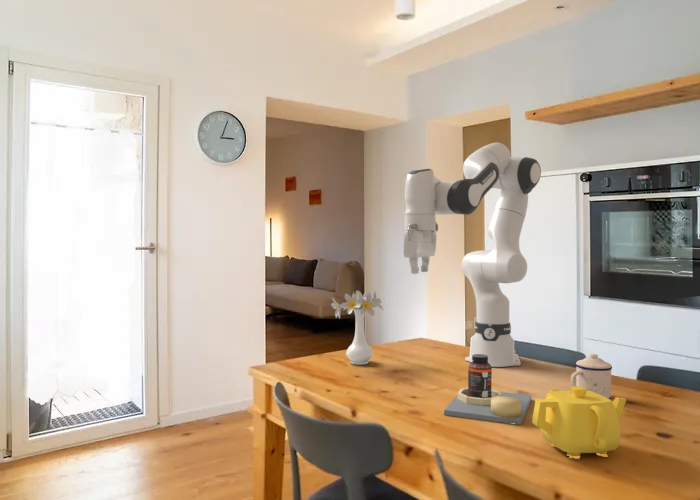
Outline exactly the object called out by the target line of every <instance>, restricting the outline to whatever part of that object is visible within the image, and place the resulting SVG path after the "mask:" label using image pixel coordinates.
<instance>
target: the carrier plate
mask: <svg viewBox="0 0 700 500" xmlns="http://www.w3.org/2000/svg"><path fill="white" fill-rule="evenodd" d="M491 392H492V393H491V394H492V395H491V398H475V397H468V387H463V388H460V389H459V390H458V391H457V393H456V395H455V397H454V398H453V399H452V401H450V402H449V404H448V405H447V406H446V407H445V408H444V410H443V415H444V416H450V417H458V418H465V419H471V420H472V419H473V420H479V421H486V422H493V421H494V422H495V423H500V422H503V423H502V424H508V423H515V424H520V425H519V426H522V424H523V422H522V421H524V419H525V417H526V414H527V412H528V410H527V409H529V407H530V405H531V402H530V401H532V395H531V394H524V393H523V394H522V393H516V392H515V393H513V392H508V391H507V392H505V391H497V390H495V389H492V388H491ZM529 404H530V405H529ZM528 406H529V407H528ZM526 411H527V412H526ZM524 416H525V417H524ZM515 424H514V425H515Z"/></svg>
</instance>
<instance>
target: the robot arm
mask: <svg viewBox="0 0 700 500" xmlns="http://www.w3.org/2000/svg"><path fill="white" fill-rule="evenodd" d="M541 169H542V167H541V165H540V163H539V162H538V160H537V159H535V158H532V157H528V156H527V157H526V156H525V157H520V156H512V154H511V151H510V149H509V148H508V146H506V144H503V143H502V142H498V141H497V142H492V143H489V144H486V145H484V146H482V147H480V148H478V149H477V150H475V151H474V152H472V153H471V154H470V155H469V156H467V158H466V159H465V160H464V161H463V164H462V173H463V175H464V176H463V177H464V178H465V179H464V178H463V179H459V180H451V181H450V180H449V181H442V180H440V179H438V178H437V177H436V176H435V172H434V170H433V169H432V168H423V169H416V170H412V171H409V172H408V173H407V174H406V179H405V185H404V202H405V212H404V231H405V232H404V235H403V245H402V247H403V249H402V252H403V256H404V258H409V260H408V262H409V266H410V273H411V274H412V275H413V274H414V275H417V274H418V273H420V272H419V264H418V262H419V258H421V266H420V271H421V273H427V272H429V266H430V258H431V257H434V256H435V255H436V248H437V232H438V231H439V224H438V222H437V221H436V220H437V219H436V216H437V215H466V216H467V215H471V214H473V213H474V212H475V211H476V210H477V209H478V207H479V205H480V203H481V201H482V200H483V198H484V197H485V196H486V195H487V193H488V192H489V191H490V190H491V189H497V190H498V189H499V190H500V194H499V196H498V198H497V200H496V203H495V205H494V207H493V211H492V214H491V217H490V219H489V220H490V221H489V223H488V227H487V234H488V236H489V237H490V239H492V241H493V245H492V249H490V250H480V249H479V250H476V251H470V252H468V253H466V254H465V255H464V256H463V258H462V260H461V271H462V273H463V275H464V276H465V277H466V278H467V279H468V281H469V282H470V284H471V286H472V290H473V294H474V297H475V305H476V307H475V308H476V309H475V310H476V311H475V313H476V320H475V325H474V332H475V333H474V335H472V336H471V337H470V349H469V355H468V356H465V357H464V358H465V359H464V360H465V362H466V361H467V362H470V363H471V362H472V361H473V360H472V355H474V354H484V355H487V356H488V363H489V364H490V365H491V367H492V368H506V367H513V366H514V367H516V366H521V364H522V363H521V360H520V357H519V354H517V350H515V340H514V338H513V337H512V336H511V333H512V330H511V329H512V326H511V322H510V300H509V298H508V297H507V296H506V295H505V294H504V293H503V291H502V290H501V287H500V284H513V283H518V282H521V281H522V280H523V279H524V278H525V277H526V275H527V271H528V263H527V260H526V258H525V257H524V255H523V254H522V252H521V248H520V237H521V233H522V230H523V225H524V222H525V218H526V215H527V211H528V210H527V209H528V206H529V205H528V203H529V194H530V193H531V192H532V190H533V189H534V188H535V187H536V186H537V184H538V183H539V182H540V179H541V176H542V170H541Z"/></svg>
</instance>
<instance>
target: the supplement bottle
mask: <svg viewBox="0 0 700 500" xmlns="http://www.w3.org/2000/svg"><path fill="white" fill-rule="evenodd" d="M472 360H473V361H472V362H470V363H469V364H468V365H467V367H468V368H467V370H468V371H467V372H468V373H467V382H468V383H467V388H468V397H475V398H491V395H492V394H491V393H492V392H491V389H492V376H493V375H492V368H493V367H491V365H490V364H489V363H488V356H487V355H484V354H474V355H472Z"/></svg>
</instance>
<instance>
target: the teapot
mask: <svg viewBox="0 0 700 500" xmlns="http://www.w3.org/2000/svg"><path fill="white" fill-rule="evenodd" d="M626 402H627V399H626V398H623V397H617V396H615V397H614V399H613V400H611V398H610V399H608V398H606V397H604V396H602V395H599V394H597V393H595V392H592V391H588V390H587V389H586V388H584V387H579V386H575V387H573V386H572V387H571V389H570V390H569V389H567V390H559V389H555V388H554V389H552V390H549V391H548V392H547V394H546V397H545V398H542V399H541V398H539V399H537V398H536V399H535V401H534V406H533V407H534V409H533V414H532V421H531V423H532V424H533V425H535V426H536V427H537V428H539V429H540V433H541V436H542V437H543V438H544V440H546V441H547V442H549V444H550V443H551V444H553V445H554V446H556V447H555V448H558V449H559V450H561V451H562V452H565V453H566V455H567V454H568V455H571V456H580V457H581V454H595V453H600V454H606V453H608V452H610V451H611V452H612V451H615V450H617V448H618V446H619V445H620V442H621V428H620V427H621V425H620V419H621V416H622V414H623V411H624V407H625V405H626Z"/></svg>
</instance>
